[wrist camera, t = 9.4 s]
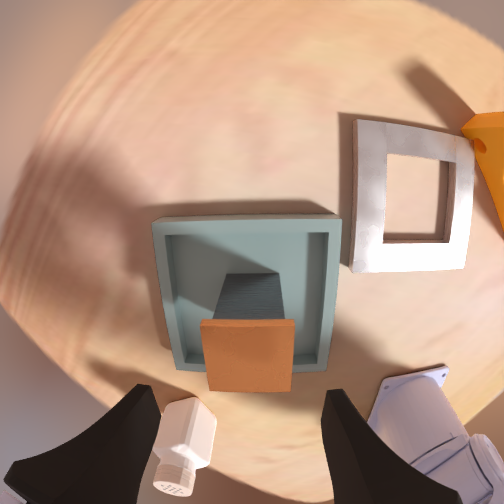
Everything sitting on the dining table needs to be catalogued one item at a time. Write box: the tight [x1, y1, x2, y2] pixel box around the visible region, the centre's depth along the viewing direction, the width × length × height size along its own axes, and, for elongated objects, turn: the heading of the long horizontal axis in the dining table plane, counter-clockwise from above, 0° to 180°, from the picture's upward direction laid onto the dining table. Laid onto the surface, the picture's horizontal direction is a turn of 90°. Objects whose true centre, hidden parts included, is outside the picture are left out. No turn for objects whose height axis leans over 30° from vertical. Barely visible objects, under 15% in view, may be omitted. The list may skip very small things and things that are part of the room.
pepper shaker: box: [152, 397, 217, 496], centre depth 20 cm, size 4×4×10 cm
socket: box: [348, 119, 475, 273], centre depth 17 cm, size 10×10×1 cm
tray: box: [151, 214, 342, 373], centre depth 19 cm, size 12×12×2 cm
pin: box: [200, 273, 295, 392], centre depth 16 cm, size 4×4×7 cm
